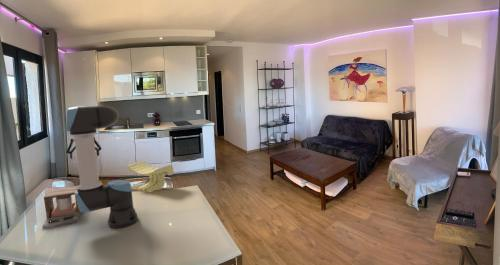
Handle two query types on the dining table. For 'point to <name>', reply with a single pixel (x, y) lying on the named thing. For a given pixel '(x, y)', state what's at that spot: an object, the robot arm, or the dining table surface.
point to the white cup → (64, 203)
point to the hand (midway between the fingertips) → (85, 162)
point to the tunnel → (50, 206)
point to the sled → (64, 212)
